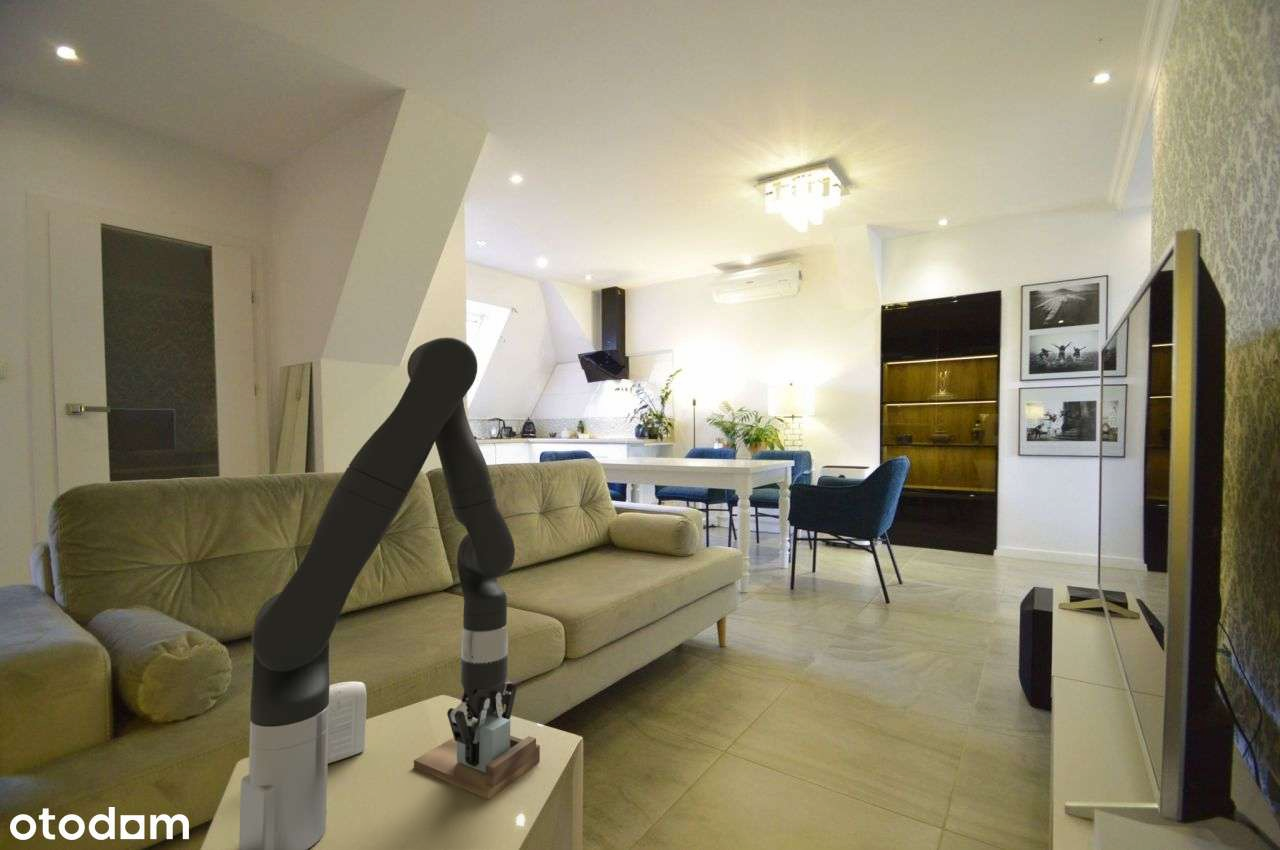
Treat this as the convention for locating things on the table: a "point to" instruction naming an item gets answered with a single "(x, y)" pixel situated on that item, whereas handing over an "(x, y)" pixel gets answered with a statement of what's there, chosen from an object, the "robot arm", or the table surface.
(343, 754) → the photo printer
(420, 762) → the board
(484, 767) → the tall pale blue block
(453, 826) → the table surface
